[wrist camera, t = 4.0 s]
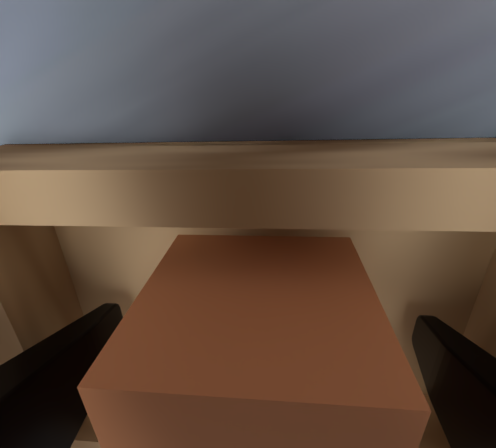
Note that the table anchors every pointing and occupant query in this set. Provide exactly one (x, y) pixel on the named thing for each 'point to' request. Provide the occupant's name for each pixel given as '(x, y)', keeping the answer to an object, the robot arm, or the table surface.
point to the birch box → (248, 225)
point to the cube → (255, 353)
